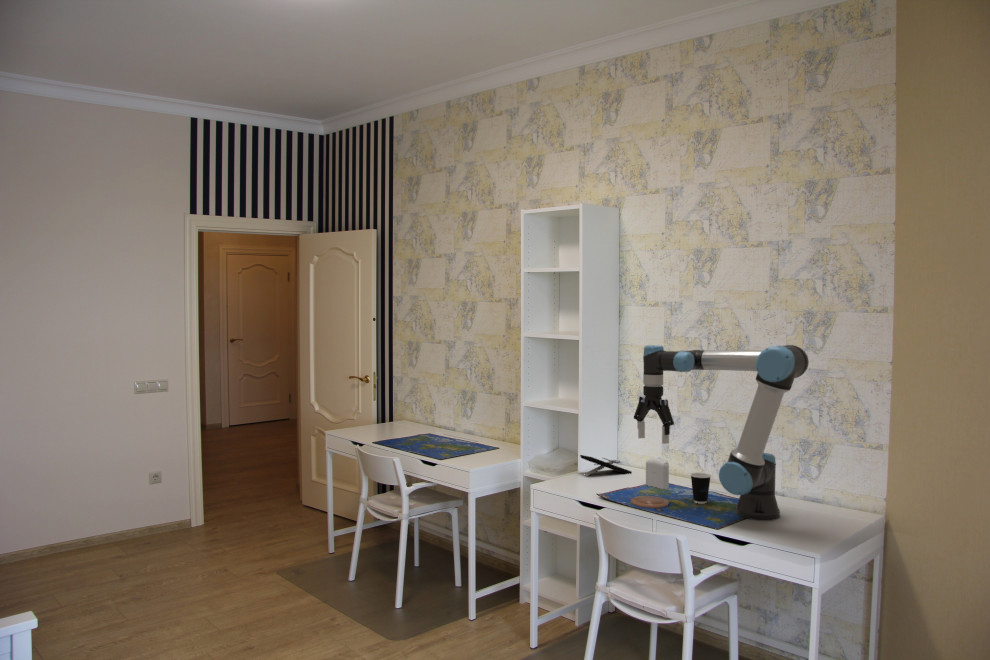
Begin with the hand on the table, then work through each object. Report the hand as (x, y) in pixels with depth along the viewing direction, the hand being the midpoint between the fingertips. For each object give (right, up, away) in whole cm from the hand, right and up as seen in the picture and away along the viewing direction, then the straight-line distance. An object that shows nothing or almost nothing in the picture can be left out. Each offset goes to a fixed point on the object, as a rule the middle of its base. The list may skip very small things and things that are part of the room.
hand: (653, 440), depth 280 cm
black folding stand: (-11, -23, +49) cm, 55 cm away
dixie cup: (+18, -24, +1) cm, 31 cm away
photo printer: (+7, -24, +25) cm, 35 cm away
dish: (-1, -24, 0) cm, 24 cm away
